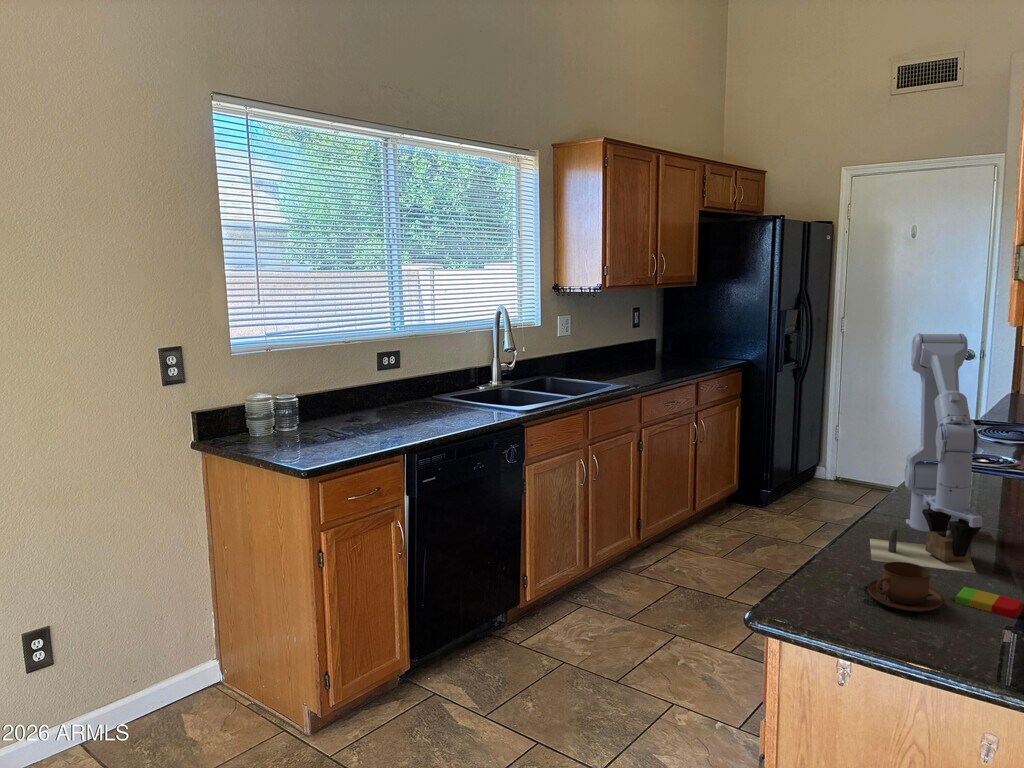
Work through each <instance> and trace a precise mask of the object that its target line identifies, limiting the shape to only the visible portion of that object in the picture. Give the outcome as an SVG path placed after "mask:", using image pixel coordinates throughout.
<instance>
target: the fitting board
mask: <svg viewBox="0 0 1024 768" xmlns="http://www.w3.org/2000/svg"><path fill="white" fill-rule="evenodd" d="M888 532H889V536H888V539H889V540H888V539H887V540H886V539H885V540H884V539H879V538H876V539H875V538H869V545H870V557H871V559H870V560H871V561H873V562H874V561H875V562H880V563H881V562H882V563H890V562H906V563H912V564H916V565H919V566H922V567H924V568H930V569H940V570H948V571H955V572H965V573H972V574H977V572H976V571H977V570H976V568H975V567H974V564H973V561H972V559H969V560H954V561H943V560H941V559H939V558H938V557H936V556H934V555H932V554H930V553H929V552H927V551H925V550H926V544H919V543H913V542H904V541H903V542H902V541H898V540H897V539H898V529H896V528H889V531H888ZM944 538H946V539H952V534H951V531H946V537H944Z"/></svg>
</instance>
